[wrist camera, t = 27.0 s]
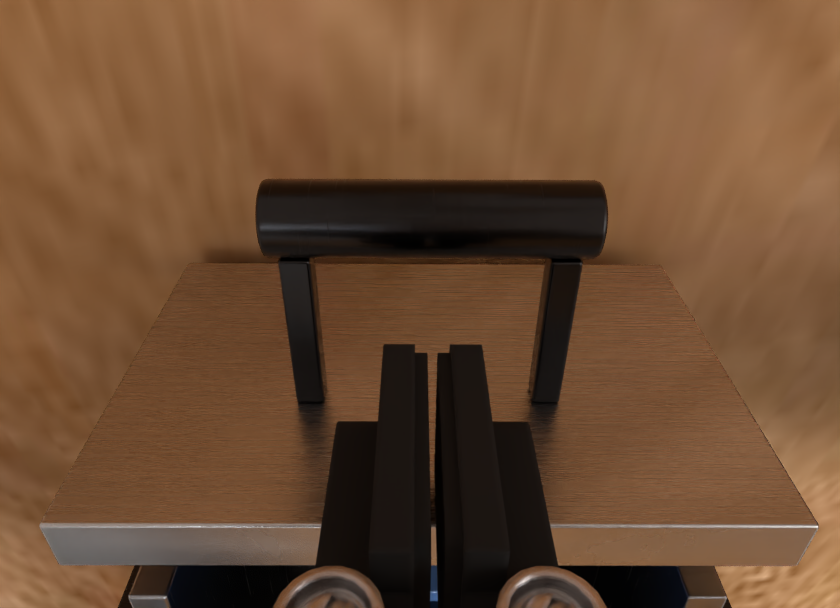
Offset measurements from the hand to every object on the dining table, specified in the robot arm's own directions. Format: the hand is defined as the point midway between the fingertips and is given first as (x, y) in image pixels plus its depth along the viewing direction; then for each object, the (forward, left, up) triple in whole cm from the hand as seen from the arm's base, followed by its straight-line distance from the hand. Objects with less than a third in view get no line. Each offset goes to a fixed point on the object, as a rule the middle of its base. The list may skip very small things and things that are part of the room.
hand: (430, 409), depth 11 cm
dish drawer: (+5, +5, -8) cm, 10 cm away
